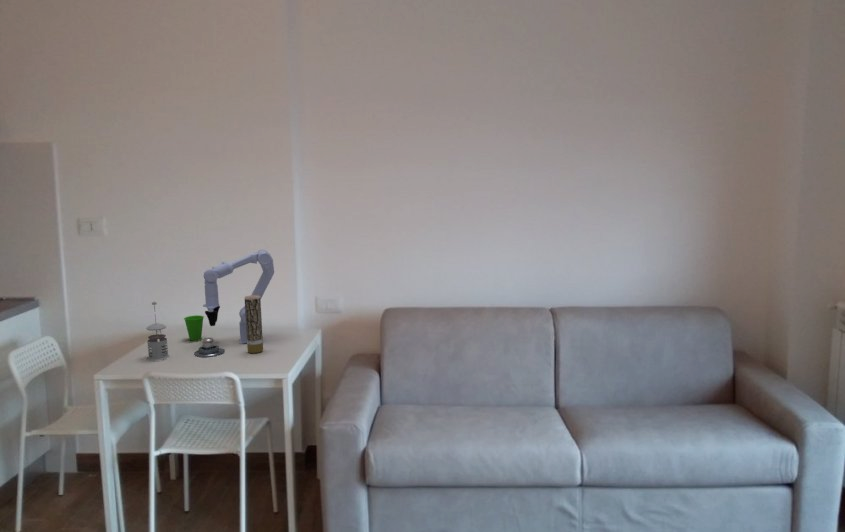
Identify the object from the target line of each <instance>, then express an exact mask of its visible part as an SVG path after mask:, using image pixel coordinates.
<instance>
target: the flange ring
mask: <svg viewBox="0 0 845 532" xmlns="http://www.w3.org/2000/svg"><path fill="white" fill-rule="evenodd" d="M225 351H226V350H225V348H221V347H220V345H216V344H214V349H208V350H205V349H203V345H202V346H199V348H198V350H196V351H195V352H193V356H194V355H195V357H196V356H197V358H213V356H214V357H218V356H221V355H223V354H224V353H225ZM220 354H221V355H220ZM217 355H218V356H217Z"/></svg>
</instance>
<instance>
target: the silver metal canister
mask: <svg viewBox="0 0 845 532" xmlns="http://www.w3.org/2000/svg"><path fill="white" fill-rule="evenodd" d="M201 341H202V346H203V349H205V350H208V349H214V345H215V344H214V338H213V337H204V338H202V339H201Z"/></svg>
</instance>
